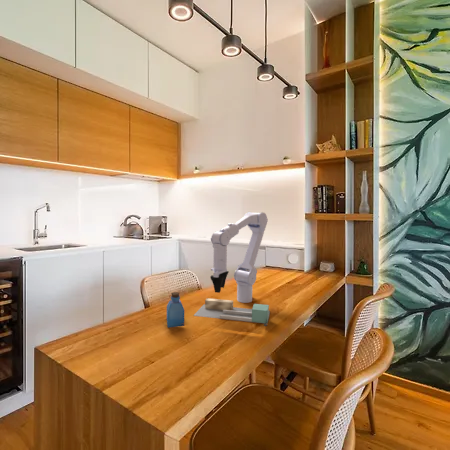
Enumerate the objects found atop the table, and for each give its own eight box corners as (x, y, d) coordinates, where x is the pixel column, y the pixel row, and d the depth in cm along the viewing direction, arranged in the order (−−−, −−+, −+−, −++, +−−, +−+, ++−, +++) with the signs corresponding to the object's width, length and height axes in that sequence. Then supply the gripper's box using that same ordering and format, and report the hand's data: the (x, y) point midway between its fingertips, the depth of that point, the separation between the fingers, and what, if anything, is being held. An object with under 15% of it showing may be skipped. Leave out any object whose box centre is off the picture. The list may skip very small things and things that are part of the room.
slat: (205, 308, 127) (205, 300, 127) (207, 305, 130) (207, 298, 130) (231, 310, 124) (231, 302, 124) (233, 308, 127) (233, 300, 127)
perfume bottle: (167, 327, 109) (167, 296, 108) (166, 321, 115) (166, 291, 114) (184, 325, 111) (184, 295, 110) (182, 319, 116) (182, 290, 116)
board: (203, 306, 132) (203, 293, 132) (269, 313, 125) (270, 299, 125) (193, 317, 118) (193, 303, 118) (266, 326, 111) (267, 310, 111)
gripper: (215, 255, 133) (214, 284, 134) (206, 261, 119) (206, 293, 120) (230, 256, 132) (229, 285, 133) (223, 262, 118) (222, 295, 119)
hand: (219, 289), depth 126 cm, fingers open, 7 cm apart
